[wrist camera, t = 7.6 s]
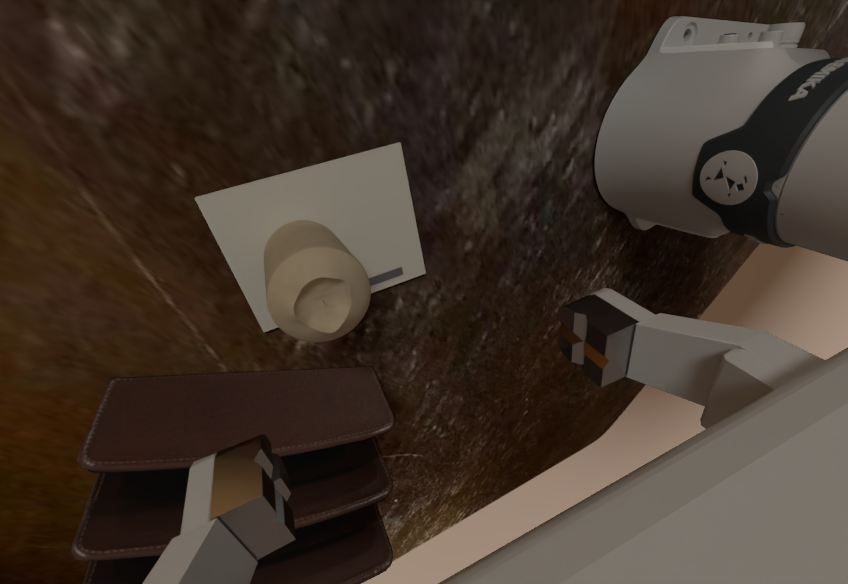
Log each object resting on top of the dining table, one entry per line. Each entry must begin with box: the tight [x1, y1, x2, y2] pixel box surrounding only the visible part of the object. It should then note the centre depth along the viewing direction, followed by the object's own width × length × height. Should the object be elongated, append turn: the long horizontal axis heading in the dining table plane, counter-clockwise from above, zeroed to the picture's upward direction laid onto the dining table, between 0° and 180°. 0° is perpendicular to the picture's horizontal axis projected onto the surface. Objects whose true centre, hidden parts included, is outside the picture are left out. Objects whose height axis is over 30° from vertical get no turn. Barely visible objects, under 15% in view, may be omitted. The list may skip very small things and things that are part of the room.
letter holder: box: [72, 366, 394, 584], centre depth 28 cm, size 10×20×14 cm, turn 76°
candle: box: [264, 220, 371, 342], centre depth 24 cm, size 6×6×10 cm
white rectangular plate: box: [195, 142, 426, 332], centre depth 29 cm, size 14×11×1 cm
